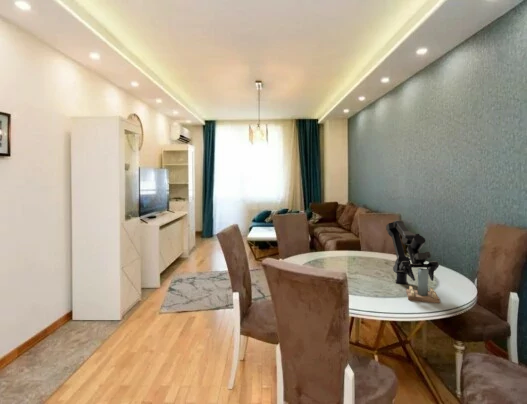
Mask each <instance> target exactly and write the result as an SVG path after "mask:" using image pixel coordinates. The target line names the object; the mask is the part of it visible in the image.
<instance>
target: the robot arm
mask: <svg viewBox="0 0 527 404" xmlns="http://www.w3.org/2000/svg"><path fill="white" fill-rule="evenodd" d="M385 230H386V232H387V235H389V236H390V237H391V240H392V244H393V247H394V252H395V255H396V259H395V262H394V265H393V267H392V271H393V273H396V279H395V280H394V281H395V283H396V284H402V285H408V284H409V283H408V277H409V278H410V279H411V280H412V281H413V282H415V281H416V277H415V275H414V272H413V270H412V269H413V268H415V269H416V268H417V269H419V268H423V269H428V270H429V273H428V277H429V278H430V281H431V282H434V278H435V277H434V276H435V275H434V273H435V271H436V270H437V269H438V268H439V267H440V264H439V262H438V261H434V260H433V261H431V260H430V261H429V262H428V263H426V260H428V259H430V258H431V257H432V255H431V253H430V251H425V252H420V250H421V249H422V248H423V246H424V244H425V242H426V238H424V236H423V235H420V233H414V232H411V231H410V230H409V229H408V228H407V226H406V225H405V224H404V221H402V220H394V221H392V222H389V223H387V224H386V225H385ZM404 245H405V246H406V247H407V248H406V252H407V253H408V256H406V254H405V250H404ZM407 276H408V277H407Z"/></svg>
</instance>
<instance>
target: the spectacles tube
mask: <svg viewBox="0 0 527 404" xmlns="http://www.w3.org/2000/svg"><path fill="white" fill-rule="evenodd" d="M417 270H418V271H417V289H416V290H417V294H418V295H420V296H428V291H429V274H428V273H429V270H428V269H427V268H417Z"/></svg>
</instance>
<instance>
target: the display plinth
mask: <svg viewBox="0 0 527 404" xmlns="http://www.w3.org/2000/svg"><path fill="white" fill-rule="evenodd" d="M405 290H406V296H407V299H408V301H414V302H423V303H432V304H433V303H434V304H440V298H439V296H438V294H437V292H436V291H435V290H434V288H433V287H429V290H428V296H420V295H418V294H417V290H418V289H413V286H412V285H409V287H408V288H406V289H405Z"/></svg>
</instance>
